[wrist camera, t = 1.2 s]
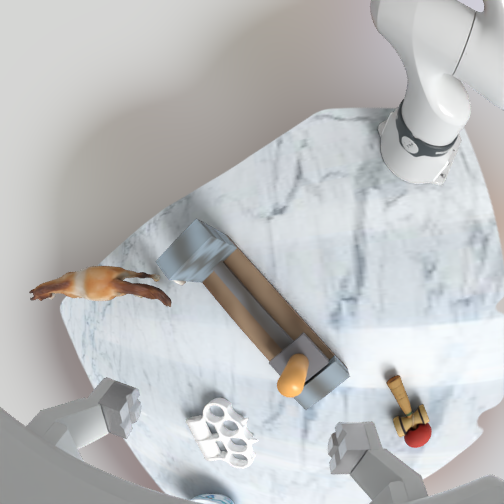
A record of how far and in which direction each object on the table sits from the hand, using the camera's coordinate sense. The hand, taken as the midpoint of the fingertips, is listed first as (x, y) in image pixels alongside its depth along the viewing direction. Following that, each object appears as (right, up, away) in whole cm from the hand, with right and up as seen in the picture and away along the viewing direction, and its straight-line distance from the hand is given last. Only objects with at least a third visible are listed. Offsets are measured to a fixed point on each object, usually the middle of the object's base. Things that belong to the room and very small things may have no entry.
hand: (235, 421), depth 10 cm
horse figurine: (-29, -5, +53) cm, 61 cm away
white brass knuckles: (-5, -34, +44) cm, 55 cm away
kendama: (+32, -26, +35) cm, 54 cm away
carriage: (+9, -13, +39) cm, 42 cm away
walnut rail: (+4, -6, +44) cm, 45 cm away
